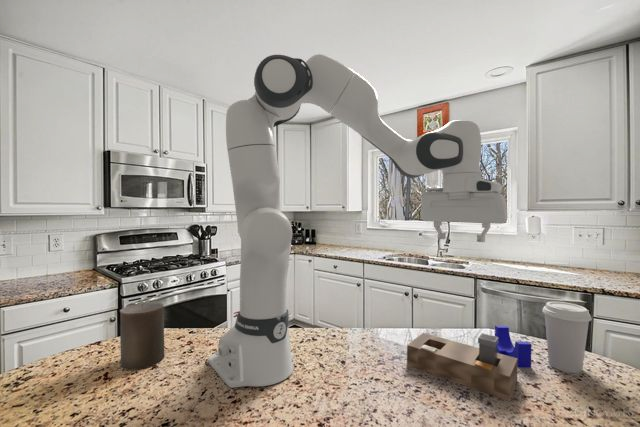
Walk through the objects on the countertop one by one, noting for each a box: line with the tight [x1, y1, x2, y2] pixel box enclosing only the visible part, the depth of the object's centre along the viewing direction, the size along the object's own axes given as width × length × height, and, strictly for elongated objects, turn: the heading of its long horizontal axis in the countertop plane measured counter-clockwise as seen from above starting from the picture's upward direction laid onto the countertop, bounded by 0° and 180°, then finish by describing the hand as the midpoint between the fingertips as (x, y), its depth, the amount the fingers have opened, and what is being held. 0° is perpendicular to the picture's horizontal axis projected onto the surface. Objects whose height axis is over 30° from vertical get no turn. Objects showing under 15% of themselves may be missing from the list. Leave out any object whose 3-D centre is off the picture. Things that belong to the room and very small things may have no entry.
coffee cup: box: [542, 301, 593, 374], centre depth 76 cm, size 10×10×15 cm
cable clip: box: [494, 324, 532, 369], centre depth 82 cm, size 12×4×6 cm, turn 175°
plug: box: [477, 332, 498, 367], centre depth 69 cm, size 3×3×9 cm
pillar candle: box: [119, 301, 165, 371], centre depth 78 cm, size 10×10×15 cm
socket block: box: [406, 332, 519, 402], centre depth 73 cm, size 22×10×5 cm, turn 50°
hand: (460, 240), depth 79 cm, fingers open, 8 cm apart
